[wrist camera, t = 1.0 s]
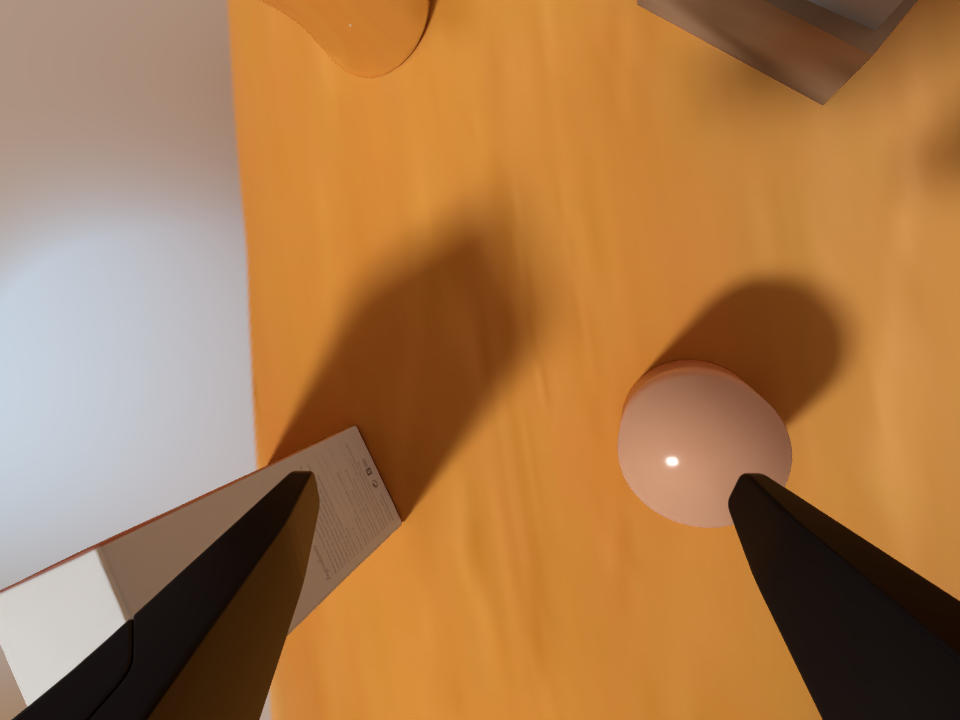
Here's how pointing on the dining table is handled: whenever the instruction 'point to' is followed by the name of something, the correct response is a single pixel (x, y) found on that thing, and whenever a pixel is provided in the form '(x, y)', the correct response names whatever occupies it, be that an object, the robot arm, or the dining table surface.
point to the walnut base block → (783, 38)
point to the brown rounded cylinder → (697, 440)
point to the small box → (188, 559)
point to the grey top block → (861, 10)
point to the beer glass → (361, 30)
